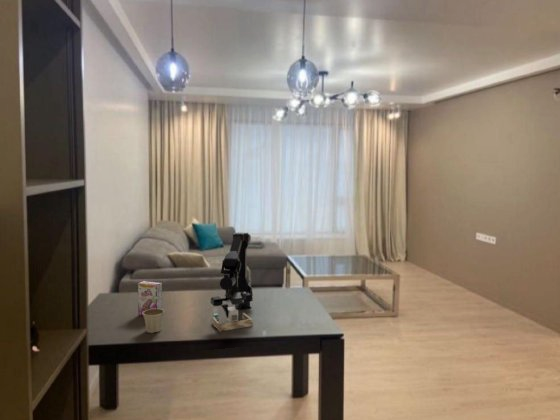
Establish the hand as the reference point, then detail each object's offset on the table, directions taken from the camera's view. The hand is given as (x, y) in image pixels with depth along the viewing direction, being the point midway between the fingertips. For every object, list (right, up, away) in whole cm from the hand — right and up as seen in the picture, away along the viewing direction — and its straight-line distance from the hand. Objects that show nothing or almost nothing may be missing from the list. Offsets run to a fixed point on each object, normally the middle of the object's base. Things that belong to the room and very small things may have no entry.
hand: (231, 317), depth 200 cm
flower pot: (-34, -4, -7) cm, 35 cm away
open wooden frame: (0, -4, 0) cm, 4 cm away
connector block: (0, -1, 0) cm, 1 cm away
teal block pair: (-4, -3, +8) cm, 10 cm away
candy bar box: (-42, -3, +13) cm, 44 cm away
